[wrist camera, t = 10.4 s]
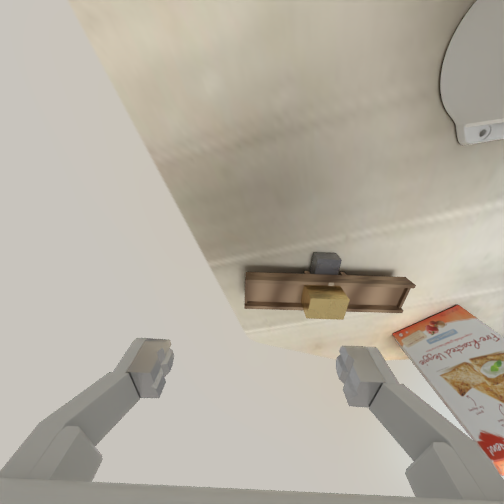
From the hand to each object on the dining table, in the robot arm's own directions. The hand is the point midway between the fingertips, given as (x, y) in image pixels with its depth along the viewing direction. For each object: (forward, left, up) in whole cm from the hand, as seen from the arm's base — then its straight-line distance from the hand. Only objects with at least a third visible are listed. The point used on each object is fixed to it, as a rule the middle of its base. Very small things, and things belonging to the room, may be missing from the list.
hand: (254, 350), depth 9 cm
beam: (-13, +12, -22) cm, 29 cm away
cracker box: (-39, +23, -25) cm, 52 cm away
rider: (-12, +13, -21) cm, 28 cm away
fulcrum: (-13, +12, -25) cm, 31 cm away
